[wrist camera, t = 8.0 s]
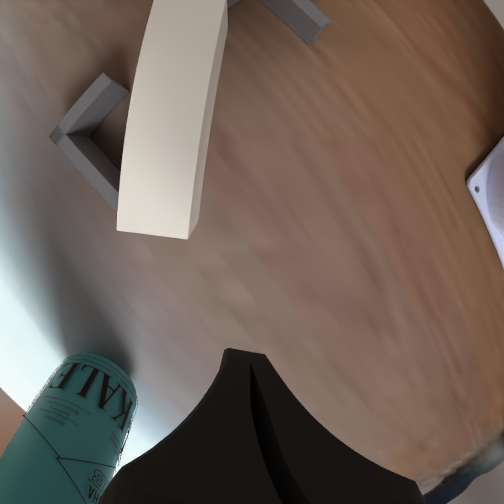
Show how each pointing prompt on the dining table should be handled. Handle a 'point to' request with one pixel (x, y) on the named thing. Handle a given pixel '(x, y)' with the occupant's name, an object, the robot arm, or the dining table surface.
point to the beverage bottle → (70, 435)
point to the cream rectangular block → (171, 117)
